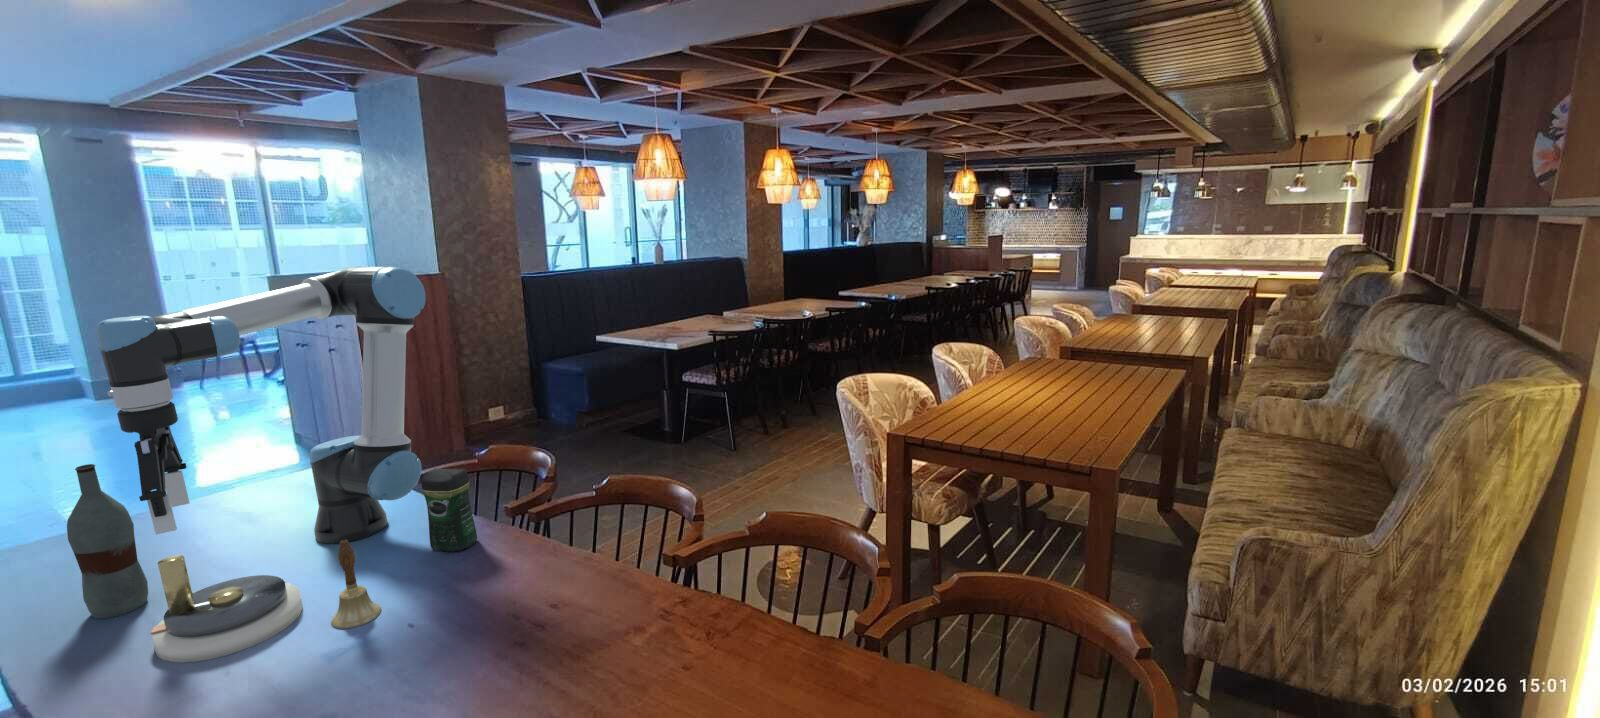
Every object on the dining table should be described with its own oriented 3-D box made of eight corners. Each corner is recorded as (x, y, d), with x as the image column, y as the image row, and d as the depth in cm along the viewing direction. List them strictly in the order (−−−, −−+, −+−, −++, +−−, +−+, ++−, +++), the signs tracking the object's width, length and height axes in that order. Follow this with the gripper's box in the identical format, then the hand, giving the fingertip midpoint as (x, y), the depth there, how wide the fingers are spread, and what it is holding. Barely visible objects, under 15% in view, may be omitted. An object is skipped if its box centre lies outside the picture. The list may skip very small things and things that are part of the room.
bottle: (96, 625, 136) (58, 478, 130) (81, 612, 141) (43, 470, 135) (158, 602, 144) (125, 462, 138) (142, 590, 149) (109, 455, 143)
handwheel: (292, 575, 146) (281, 521, 144) (280, 617, 131) (268, 558, 128) (179, 600, 138) (166, 543, 135) (152, 649, 122) (137, 585, 120)
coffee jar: (483, 538, 169) (473, 464, 165) (462, 554, 161) (451, 477, 157) (447, 536, 170) (436, 462, 167) (424, 551, 163) (413, 475, 159)
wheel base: (304, 584, 150) (301, 568, 149) (300, 634, 132) (296, 617, 131) (168, 618, 138) (164, 601, 138) (142, 678, 120) (138, 660, 119)
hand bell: (391, 608, 140) (379, 533, 136) (353, 632, 132) (339, 553, 129) (360, 602, 142) (347, 528, 139) (320, 625, 135) (306, 547, 131)
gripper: (133, 394, 132) (160, 499, 137) (96, 427, 112) (130, 550, 117) (185, 387, 136) (209, 490, 141) (159, 418, 116) (189, 537, 121)
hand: (173, 517), depth 129 cm, fingers open, 13 cm apart
